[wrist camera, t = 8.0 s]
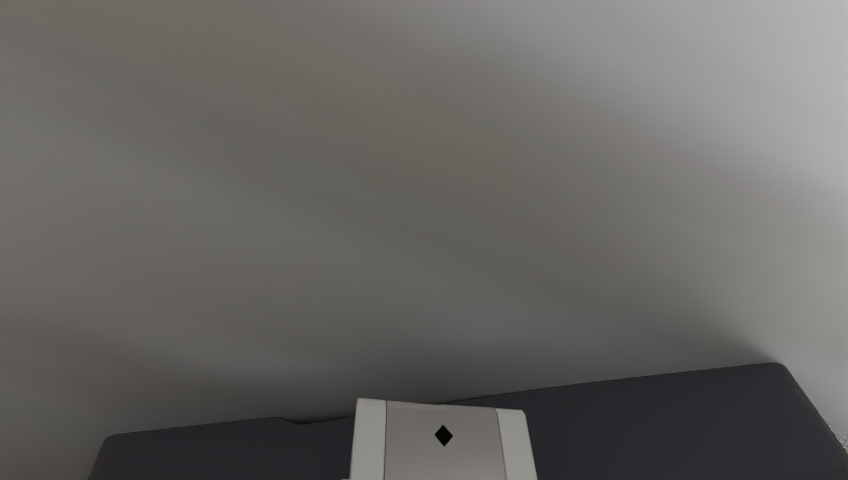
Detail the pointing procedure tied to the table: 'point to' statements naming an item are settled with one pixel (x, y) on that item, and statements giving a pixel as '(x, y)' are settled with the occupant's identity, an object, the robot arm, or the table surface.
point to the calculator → (542, 435)
